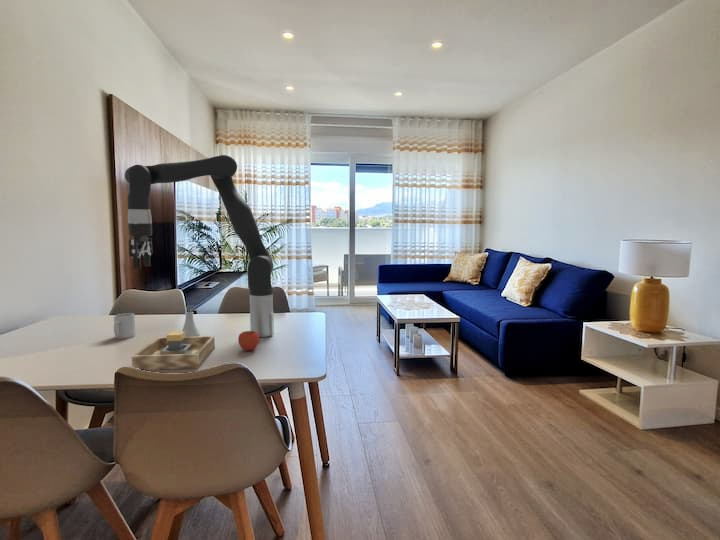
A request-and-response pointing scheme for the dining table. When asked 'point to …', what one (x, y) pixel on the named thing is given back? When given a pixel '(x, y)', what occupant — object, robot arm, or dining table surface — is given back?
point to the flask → (190, 326)
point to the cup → (124, 325)
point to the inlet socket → (186, 350)
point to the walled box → (154, 361)
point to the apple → (248, 340)
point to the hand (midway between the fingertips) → (142, 267)
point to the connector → (176, 340)
